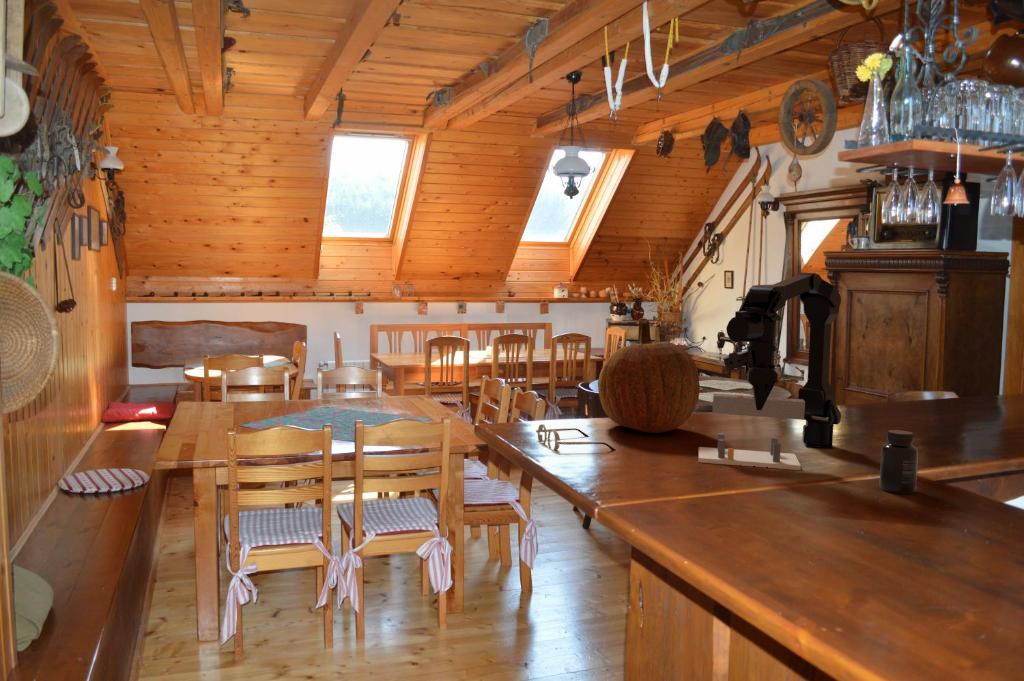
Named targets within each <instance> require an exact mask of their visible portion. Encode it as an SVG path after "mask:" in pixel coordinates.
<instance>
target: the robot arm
mask: <svg viewBox="0 0 1024 681" xmlns="http://www.w3.org/2000/svg"><path fill="white" fill-rule="evenodd" d="M795 297H797V298H798V299H799V300H800V301H801V303H802V304H803V314H804V316H805V317H806V319H807V321H808V323H809V337H808V338H809V341H808V343H809V344H808V358H807V359H808V364H807V380H806V382H805V384H804V385H803V387H800V388H799V389H798V399H803V400H804V401H805V412H804V420H805V424H803V426H802V442H803V443H804V446H805V447H809V448H823V449H824V448H825V449H834V445H833V438H834V425H839V424H840V423H841V420H842V413H841V411H840V409H839V407H838V405H837V403H836V397H835V396H836V394H835V391H834V389H833V387H832V386H831V384H830V383H829V374H830V373H829V372H830V356H831V355H830V354H831V351H830V350H831V336H832V335H831V332H832V324H833V323H834V321H835V319H836V318H837V317H838V315H839V312H840V305H841V303H842V296H841V294H840V292H839V291H838V289H837V288H836V287H835V286H834V285H833V284H831V283H830V282H828V281H826V279H825V280H824V279H823V278H822V277H821V275H820V274H818V273H816V272H799V273H797V274H796V275H794V276H791V277H788V278H786V279H784V280H783V279H782V280H781V281H779V282H776V283H772V284H755V285H752V286H751V287H749V290H748V291H747V293H746V295H745V297H744V299H743V301H742V303H741V305H740V307H739V310H735V314H734V316H733V317H732V318H731V319H730V320H729V321H728V323H727V325H726V327H725V328H726V334H727V336H728V338H729V339H730V340H731V341H732V342H734V343H747V342H749V343H748V344H747V345H746V346H747V347H746V349H745V350H742V351H739V352H737V351H733V352H729V353H728V355H724V356H723V357H722V360H723V363H724V367H725V370H726V372H733V371H734V370H736V369H738V368H742V367H744V373H745V374H746V373H747V374H746V375H745V377H746V378H747V382H748V383H749V384H750V385H751V386H752V392H753V396H755V402H756V409H757V410H762V408H763V406H764V404H765V402H766V400H767V398H768V397H770V394H771V391H773V388H774V386H775V385H776V384H777V383H778V381H779V380H778V379H779V374H778V371H776V370H775V369H776V365H775V357H776V351H777V346H776V342H777V338H776V337H777V326H778V324H777V322H780V321H782V317H781V316H780V315H779V313H778V311H780V310H781V309H782V308H784V307H785V306H786V304H787V303H786V302H787V301H789V300H791V299H794V298H795ZM804 420H803V421H804Z"/></svg>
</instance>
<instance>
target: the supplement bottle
mask: <svg viewBox="0 0 1024 681" xmlns="http://www.w3.org/2000/svg"><path fill="white" fill-rule="evenodd" d="M886 435H887V437H886V441H887V443H885V444H883V445H882V446H881V449H880V450H881V451H880V467H879V468H880V469H879V483H878V484H879V485H878V486H879V488H880V489H881V490H883V491H884V492H888V493H893V494H901V495H909V494H914V493H915V492H916V491H917V480H918V479H917V478H918V465H919V464H918V462H919V460H918V459H919V451H918V448H917V446H916V447H915V445H913V443H914V442H915V441H914V435H915V434H914V432H911V431H906V430H902V429H901V430H899V429H895V430H894V429H893V430H891V429H890V430H887V434H886Z"/></svg>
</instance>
